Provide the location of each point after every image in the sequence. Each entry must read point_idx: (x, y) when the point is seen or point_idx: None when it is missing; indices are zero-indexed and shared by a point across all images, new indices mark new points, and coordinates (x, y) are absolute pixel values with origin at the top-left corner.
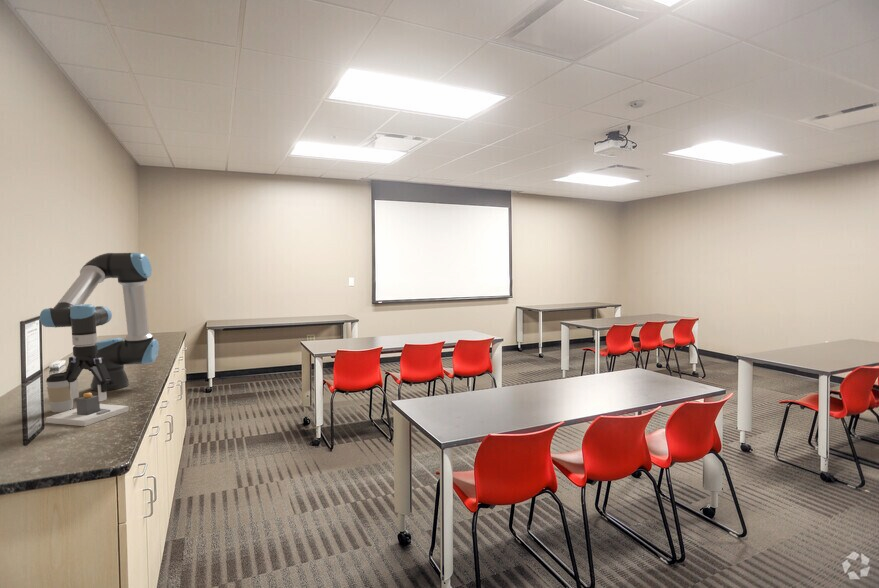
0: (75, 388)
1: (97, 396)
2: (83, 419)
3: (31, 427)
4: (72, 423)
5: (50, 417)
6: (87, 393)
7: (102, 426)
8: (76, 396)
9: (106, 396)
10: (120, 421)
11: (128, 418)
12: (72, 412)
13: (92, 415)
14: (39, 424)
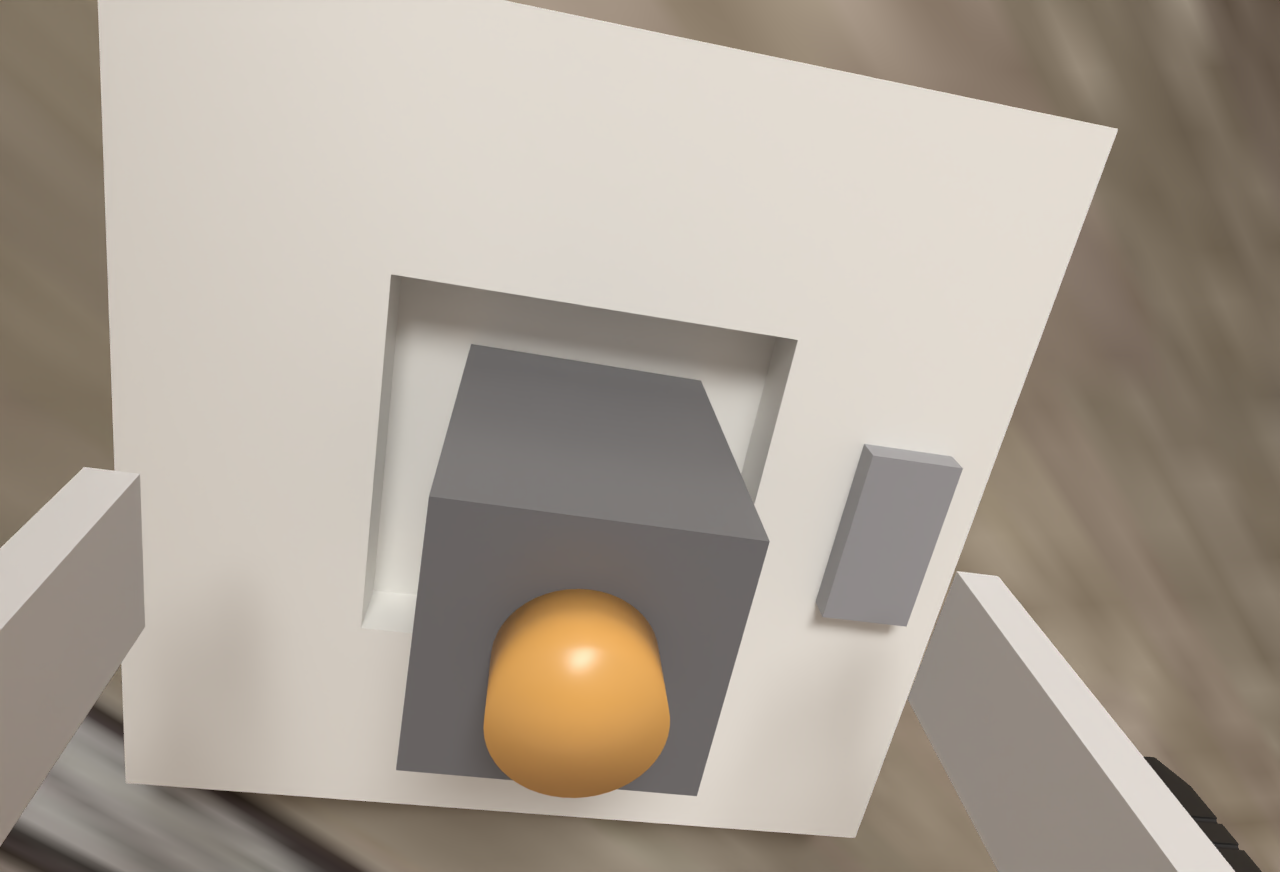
0: (9, 722)
1: (757, 579)
2: (798, 802)
3: (157, 865)
4: None
5: (200, 777)
6: (569, 723)
7: None
8: (125, 550)
9: (1031, 625)
10: (1188, 605)
11: (1242, 491)
12: (309, 550)
13: (800, 658)
14: None
